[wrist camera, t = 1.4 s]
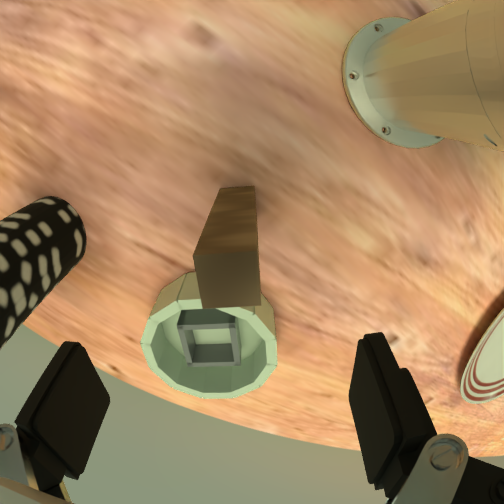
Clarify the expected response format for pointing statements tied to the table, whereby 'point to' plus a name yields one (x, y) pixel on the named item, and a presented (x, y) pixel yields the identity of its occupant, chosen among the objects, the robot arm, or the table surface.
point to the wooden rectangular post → (229, 252)
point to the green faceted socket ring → (209, 343)
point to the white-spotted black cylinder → (35, 257)
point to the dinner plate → (486, 366)
